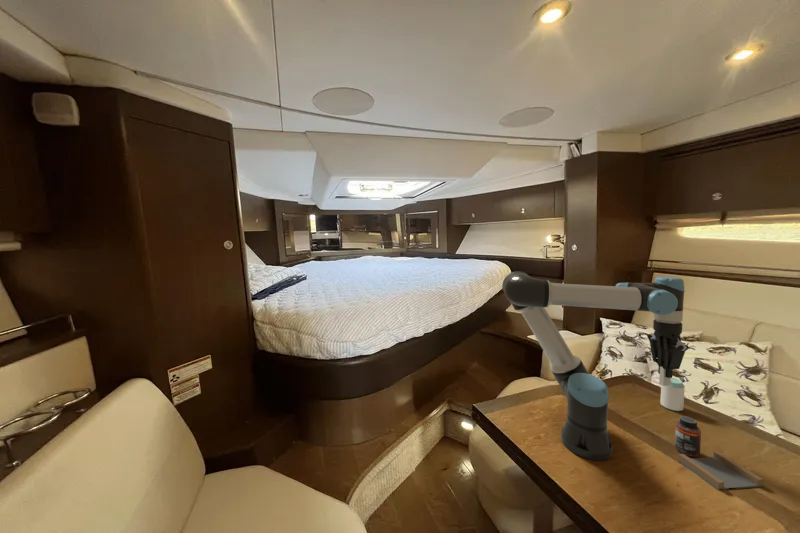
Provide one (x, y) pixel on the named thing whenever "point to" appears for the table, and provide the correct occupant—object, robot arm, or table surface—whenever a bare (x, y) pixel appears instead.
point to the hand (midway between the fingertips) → (664, 384)
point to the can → (673, 395)
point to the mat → (721, 471)
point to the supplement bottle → (688, 437)
